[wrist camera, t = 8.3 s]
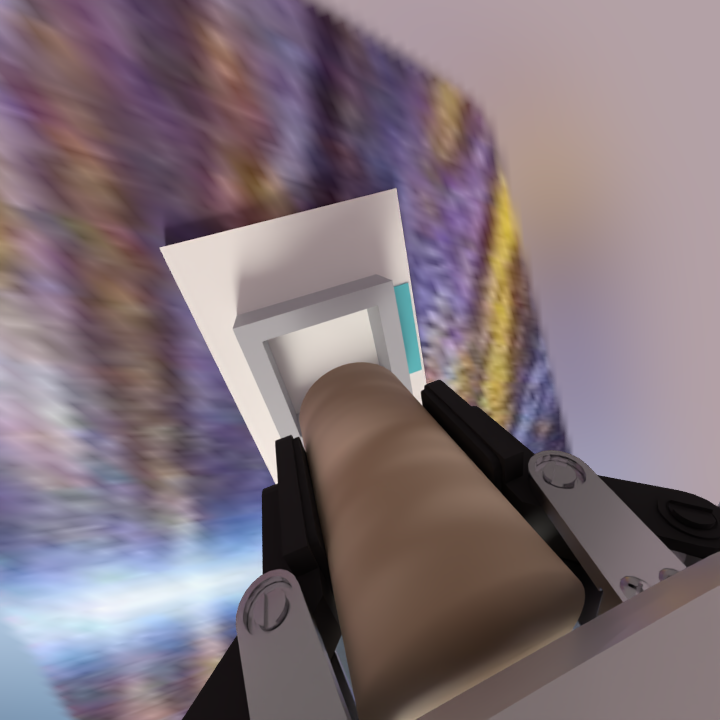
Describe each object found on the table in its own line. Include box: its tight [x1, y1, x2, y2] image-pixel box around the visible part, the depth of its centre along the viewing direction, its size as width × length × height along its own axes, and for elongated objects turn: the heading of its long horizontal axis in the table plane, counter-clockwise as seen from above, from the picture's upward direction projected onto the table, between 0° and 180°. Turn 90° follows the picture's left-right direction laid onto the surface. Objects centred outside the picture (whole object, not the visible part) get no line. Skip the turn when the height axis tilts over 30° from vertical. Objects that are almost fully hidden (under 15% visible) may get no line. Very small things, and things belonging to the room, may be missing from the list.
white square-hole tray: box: [160, 188, 426, 484], centre depth 18 cm, size 12×16×4 cm
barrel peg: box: [299, 362, 585, 720], centre depth 9 cm, size 4×4×8 cm
